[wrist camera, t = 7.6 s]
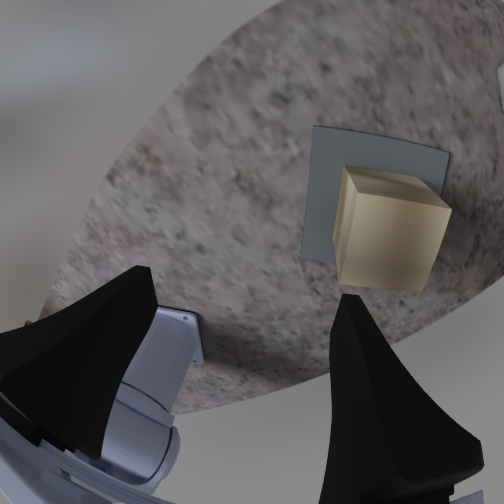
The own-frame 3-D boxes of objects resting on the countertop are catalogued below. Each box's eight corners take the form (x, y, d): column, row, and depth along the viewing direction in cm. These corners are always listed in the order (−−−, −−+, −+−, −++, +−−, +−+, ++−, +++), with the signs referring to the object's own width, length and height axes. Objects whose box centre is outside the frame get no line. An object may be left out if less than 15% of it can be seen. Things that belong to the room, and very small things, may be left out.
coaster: (300, 253, 20) (300, 257, 20) (313, 125, 15) (313, 126, 15) (414, 266, 19) (416, 270, 18) (445, 151, 14) (449, 153, 13)
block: (332, 237, 18) (338, 284, 14) (343, 164, 16) (358, 192, 11) (400, 245, 18) (421, 291, 13) (418, 177, 15) (451, 209, 11)
